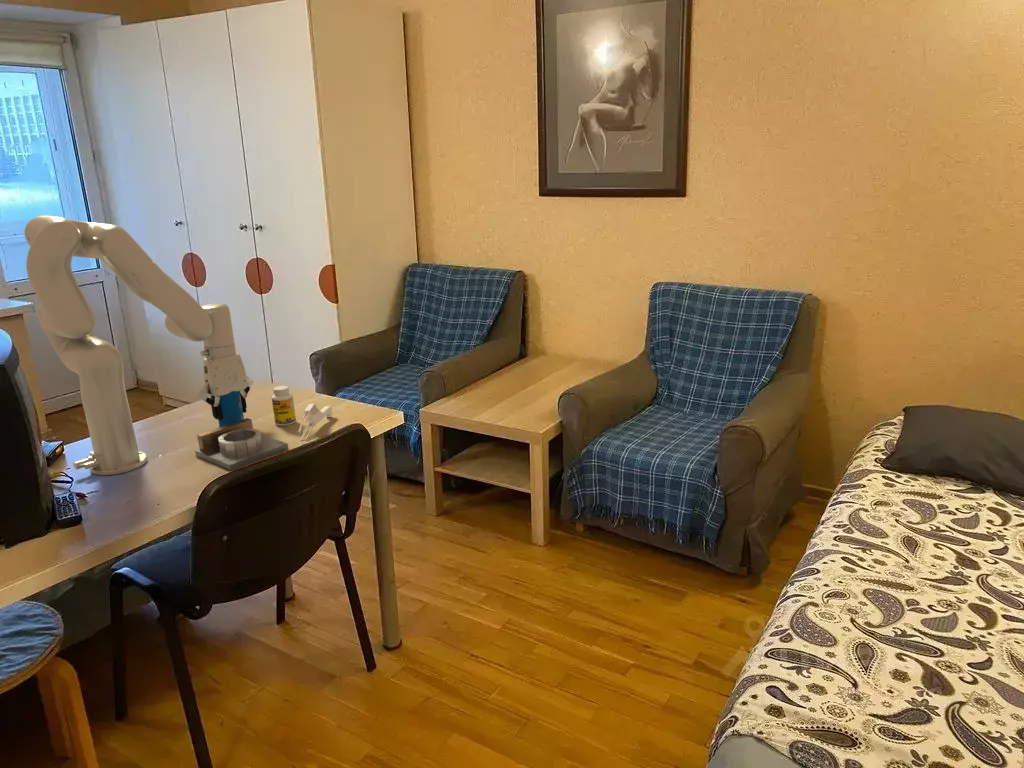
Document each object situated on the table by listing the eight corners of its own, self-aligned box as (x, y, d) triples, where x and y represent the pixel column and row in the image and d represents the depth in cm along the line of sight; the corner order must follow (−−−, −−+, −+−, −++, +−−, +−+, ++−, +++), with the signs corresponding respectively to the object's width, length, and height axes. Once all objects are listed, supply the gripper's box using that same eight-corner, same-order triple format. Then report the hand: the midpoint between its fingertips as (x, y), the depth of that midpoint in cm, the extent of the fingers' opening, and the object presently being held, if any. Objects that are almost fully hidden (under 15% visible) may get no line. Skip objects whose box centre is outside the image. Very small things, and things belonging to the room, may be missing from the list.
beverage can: (240, 433, 206) (233, 390, 203) (216, 434, 206) (209, 391, 203) (248, 425, 212) (242, 383, 209) (225, 425, 212) (218, 384, 209)
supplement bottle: (272, 426, 210) (266, 391, 207) (279, 419, 215) (274, 384, 212) (291, 426, 210) (286, 390, 207) (299, 419, 215) (294, 384, 212)
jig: (231, 470, 182) (227, 449, 181) (196, 456, 192) (192, 435, 191) (288, 449, 194) (285, 428, 192) (252, 436, 204) (249, 416, 202)
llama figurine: (313, 459, 203) (334, 413, 217) (301, 428, 196) (323, 382, 209) (307, 459, 203) (328, 413, 217) (294, 428, 196) (317, 382, 210)
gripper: (197, 360, 194) (208, 427, 199) (257, 345, 207) (266, 409, 212) (181, 356, 199) (193, 422, 204) (242, 342, 211) (251, 404, 217)
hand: (230, 414), depth 208 cm, fingers closed on beverage can, 6 cm apart
